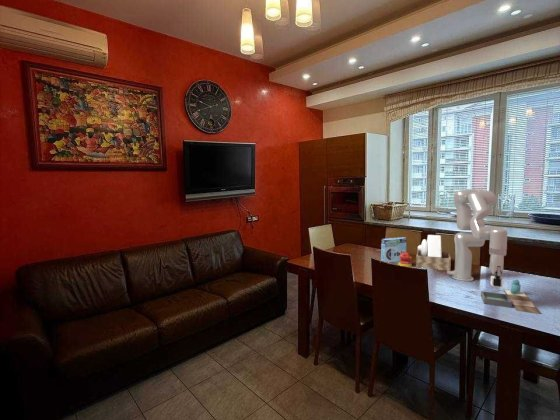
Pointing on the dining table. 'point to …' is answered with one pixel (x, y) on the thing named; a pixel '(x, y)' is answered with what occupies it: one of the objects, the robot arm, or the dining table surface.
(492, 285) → the die
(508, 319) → the dining table surface
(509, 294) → the board
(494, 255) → the robot arm
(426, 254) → the butter dish
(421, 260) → the dish corral
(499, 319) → the dining table surface
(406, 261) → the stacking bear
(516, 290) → the pawn
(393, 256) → the gum box
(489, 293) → the tray
